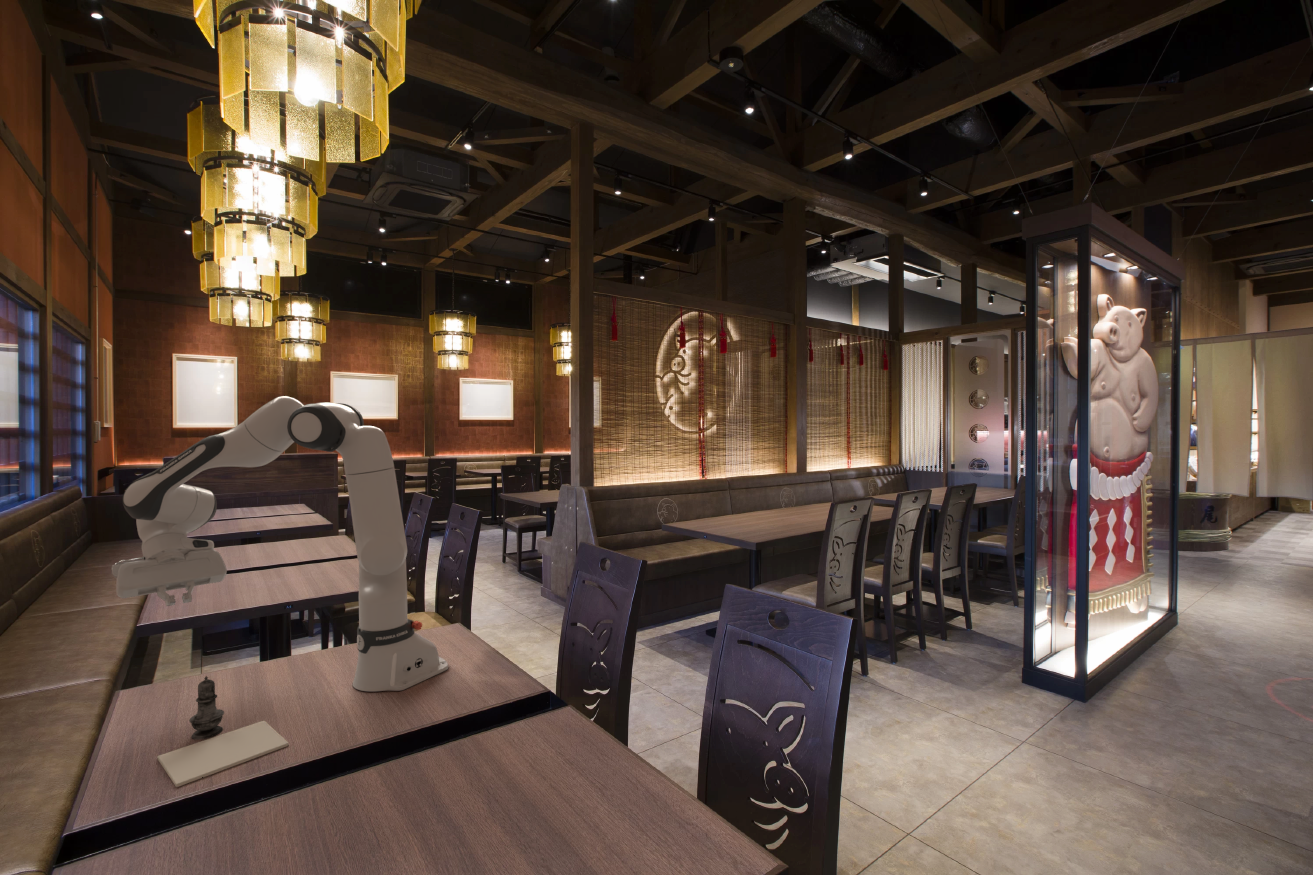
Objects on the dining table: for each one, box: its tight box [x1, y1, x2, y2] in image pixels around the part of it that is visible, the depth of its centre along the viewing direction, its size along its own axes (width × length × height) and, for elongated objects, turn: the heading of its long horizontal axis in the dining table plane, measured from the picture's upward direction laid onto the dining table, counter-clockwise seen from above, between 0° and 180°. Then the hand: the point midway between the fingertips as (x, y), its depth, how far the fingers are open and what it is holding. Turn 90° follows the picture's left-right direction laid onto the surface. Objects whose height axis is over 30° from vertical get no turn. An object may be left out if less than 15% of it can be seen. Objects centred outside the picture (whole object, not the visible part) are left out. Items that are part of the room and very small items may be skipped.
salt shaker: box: [188, 675, 225, 741], centre depth 126 cm, size 6×6×12 cm
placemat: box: [157, 720, 290, 788], centre depth 119 cm, size 18×14×1 cm
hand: (179, 602), depth 139 cm, fingers closed
